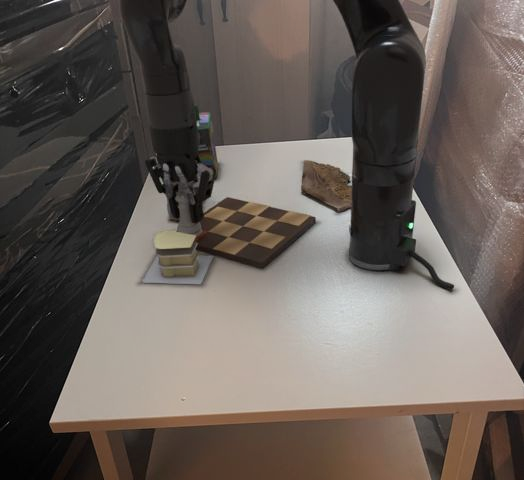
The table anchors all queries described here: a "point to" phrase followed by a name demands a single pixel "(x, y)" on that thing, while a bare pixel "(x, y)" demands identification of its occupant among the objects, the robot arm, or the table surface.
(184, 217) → the rook chess piece
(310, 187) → the wooden fragment
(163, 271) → the stacked layers on plate
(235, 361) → the table surface
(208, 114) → the chalk box
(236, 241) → the game board
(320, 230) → the table surface
